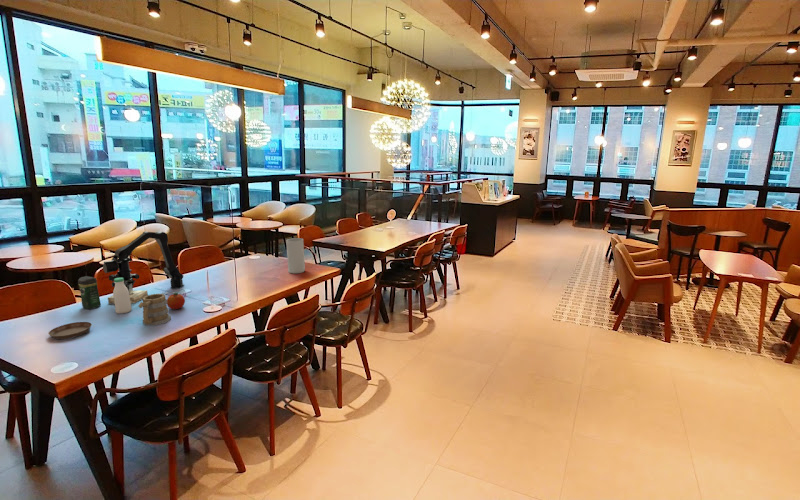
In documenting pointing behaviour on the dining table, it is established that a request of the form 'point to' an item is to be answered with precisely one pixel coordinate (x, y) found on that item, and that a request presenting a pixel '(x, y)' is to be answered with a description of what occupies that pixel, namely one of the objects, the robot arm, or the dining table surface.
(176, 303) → the fruit
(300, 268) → the cylinder vase
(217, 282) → the dining table surface
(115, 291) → the milk bottle
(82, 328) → the plant saucer
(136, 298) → the well block
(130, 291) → the tall grey box
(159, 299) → the tankard
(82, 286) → the coffee jar
